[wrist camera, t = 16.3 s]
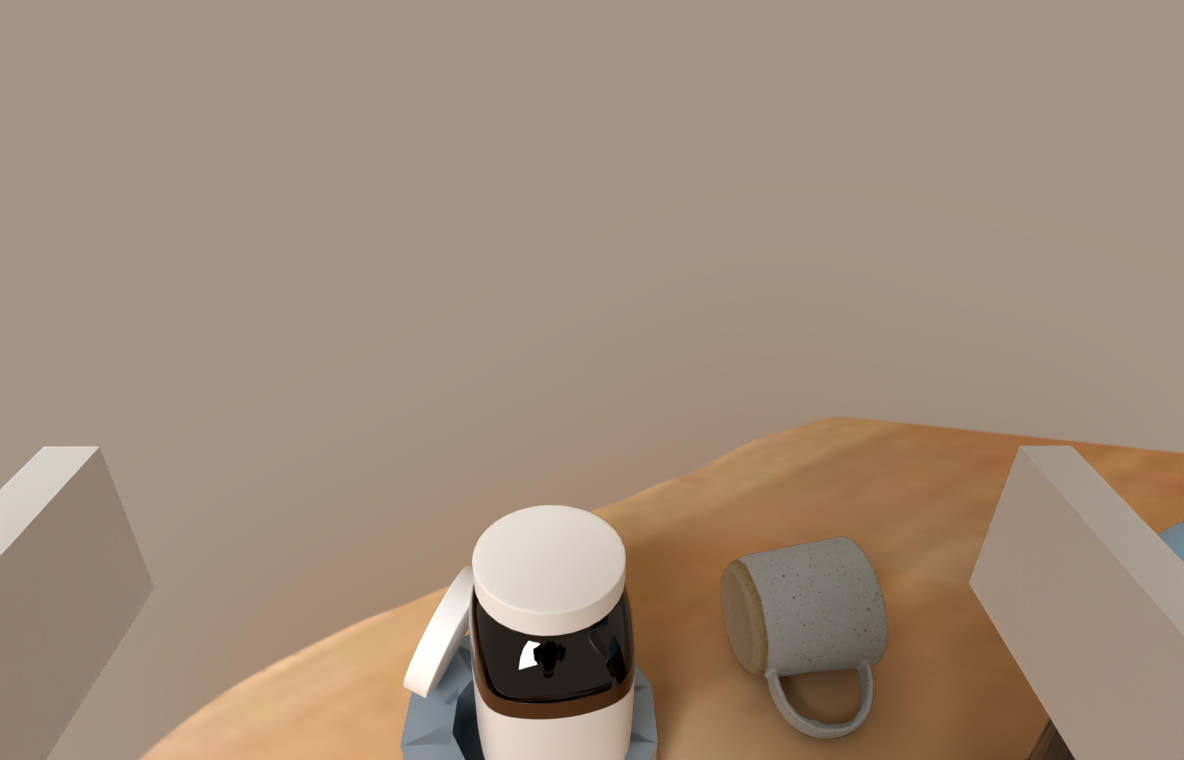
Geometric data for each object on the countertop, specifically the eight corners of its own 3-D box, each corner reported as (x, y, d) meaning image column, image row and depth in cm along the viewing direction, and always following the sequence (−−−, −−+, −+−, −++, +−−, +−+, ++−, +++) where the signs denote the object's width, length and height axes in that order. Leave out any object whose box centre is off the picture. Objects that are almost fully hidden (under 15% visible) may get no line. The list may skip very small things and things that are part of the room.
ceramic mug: (709, 612, 51) (721, 527, 47) (822, 596, 53) (843, 512, 49) (769, 759, 43) (791, 670, 38) (903, 735, 44) (937, 646, 40)
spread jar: (643, 804, 36) (658, 635, 30) (399, 837, 34) (363, 666, 28) (604, 610, 46) (609, 454, 40) (414, 629, 45) (390, 471, 39)
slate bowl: (641, 661, 48) (644, 616, 46) (662, 885, 37) (668, 839, 35) (433, 663, 47) (427, 618, 45) (390, 889, 36) (379, 844, 34)
